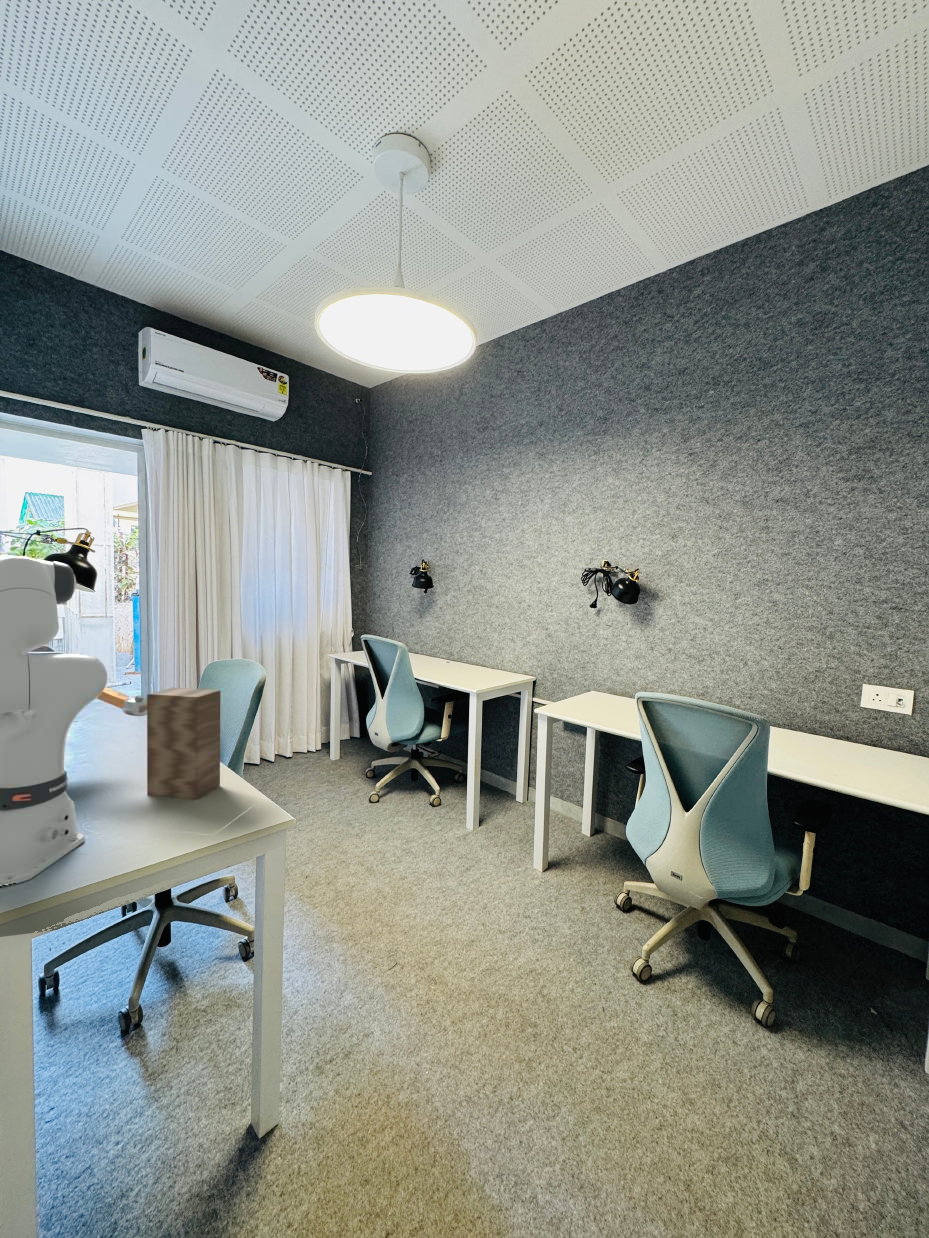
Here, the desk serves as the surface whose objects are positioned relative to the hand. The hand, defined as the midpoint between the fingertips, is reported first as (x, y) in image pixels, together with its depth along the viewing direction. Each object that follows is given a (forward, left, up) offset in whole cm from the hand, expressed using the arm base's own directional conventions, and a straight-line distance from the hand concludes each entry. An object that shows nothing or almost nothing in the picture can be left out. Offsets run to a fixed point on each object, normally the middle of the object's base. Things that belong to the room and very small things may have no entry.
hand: (86, 683), depth 132 cm
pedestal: (-11, -27, -27) cm, 39 cm away
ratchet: (-3, -7, -4) cm, 8 cm away
